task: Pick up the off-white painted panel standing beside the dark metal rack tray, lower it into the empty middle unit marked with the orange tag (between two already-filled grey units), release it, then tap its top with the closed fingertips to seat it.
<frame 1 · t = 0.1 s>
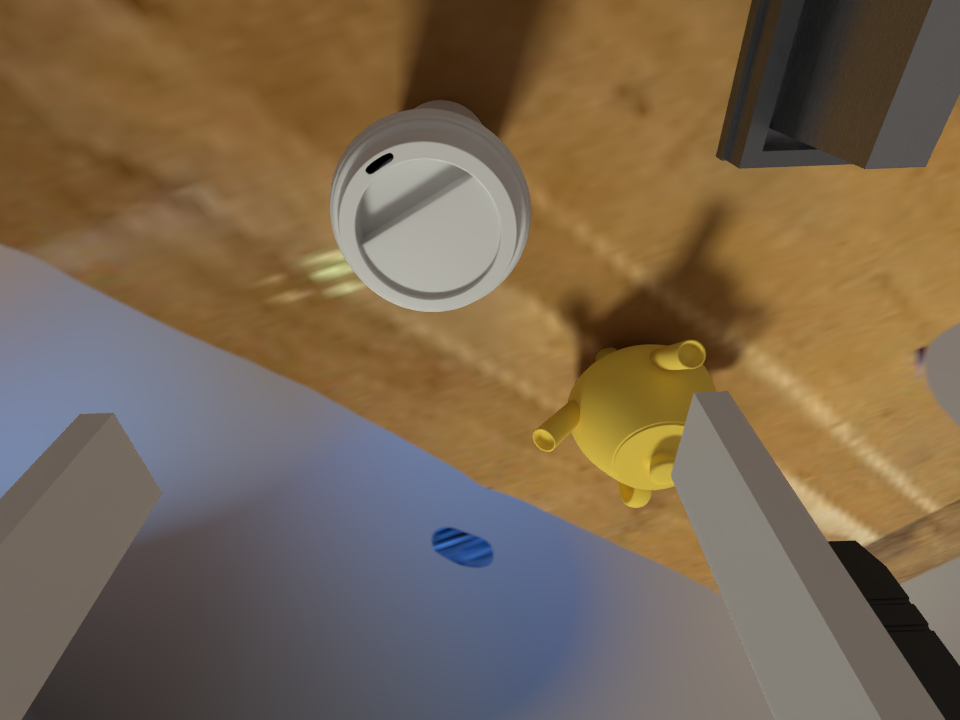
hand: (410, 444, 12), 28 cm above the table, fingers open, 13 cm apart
teapot: (621, 373, 46), on the table
coffee cup: (442, 151, 35), on the table
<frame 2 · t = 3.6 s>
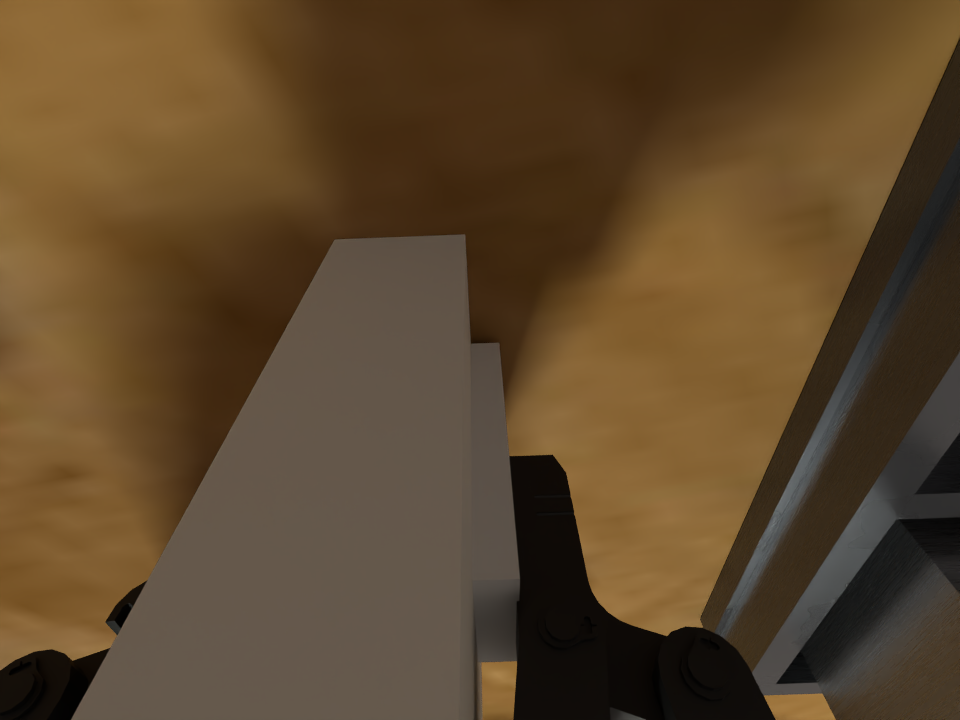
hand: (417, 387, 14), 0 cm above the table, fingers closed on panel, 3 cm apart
panel: (418, 374, 14), on the table, touching gripper
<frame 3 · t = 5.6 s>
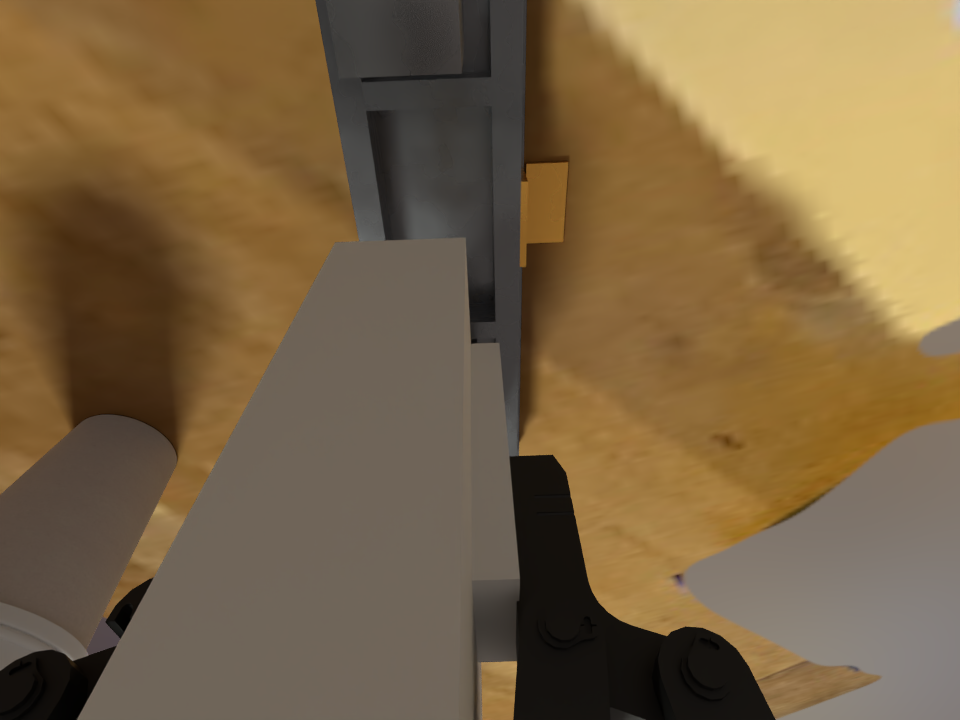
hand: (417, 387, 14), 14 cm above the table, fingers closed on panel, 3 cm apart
panel: (418, 377, 14), point 14 cm above the table, touching gripper
rack: (441, 207, 25), on the table
coffee cup: (128, 447, 35), on the table
when the fingers open (4 cm above the table, at t = 7.6 s): panel drops 2 cm, resting on rack.
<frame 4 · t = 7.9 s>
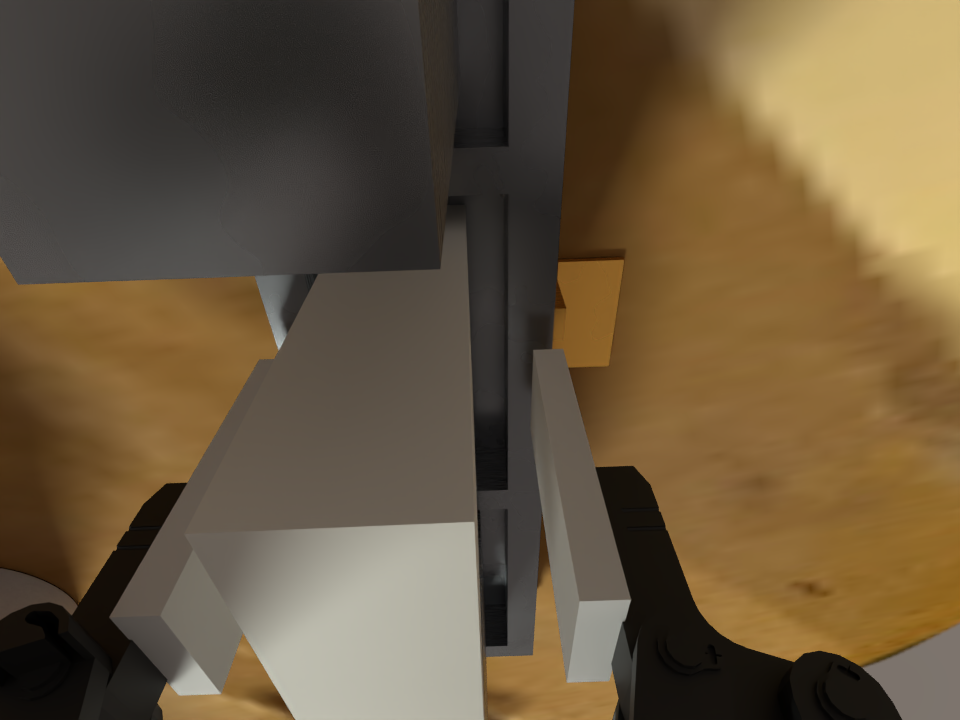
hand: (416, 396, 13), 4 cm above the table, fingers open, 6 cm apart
panel: (422, 333, 16), point 1 cm above the table, touching rack
rack: (426, 320, 17), on the table
coffee cup: (14, 597, 26), on the table
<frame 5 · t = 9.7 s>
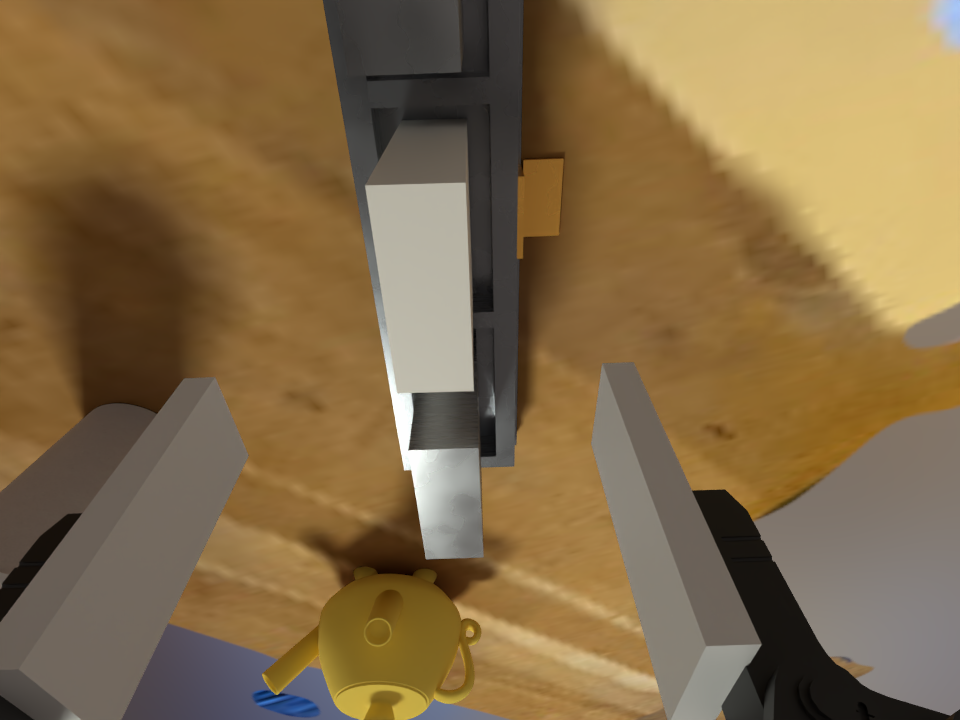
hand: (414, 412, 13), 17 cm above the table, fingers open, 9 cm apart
teapot: (386, 583, 48), on the table
panel: (440, 205, 25), point 1 cm above the table, touching rack
rack: (442, 201, 26), on the table
coffee cup: (137, 435, 36), on the table
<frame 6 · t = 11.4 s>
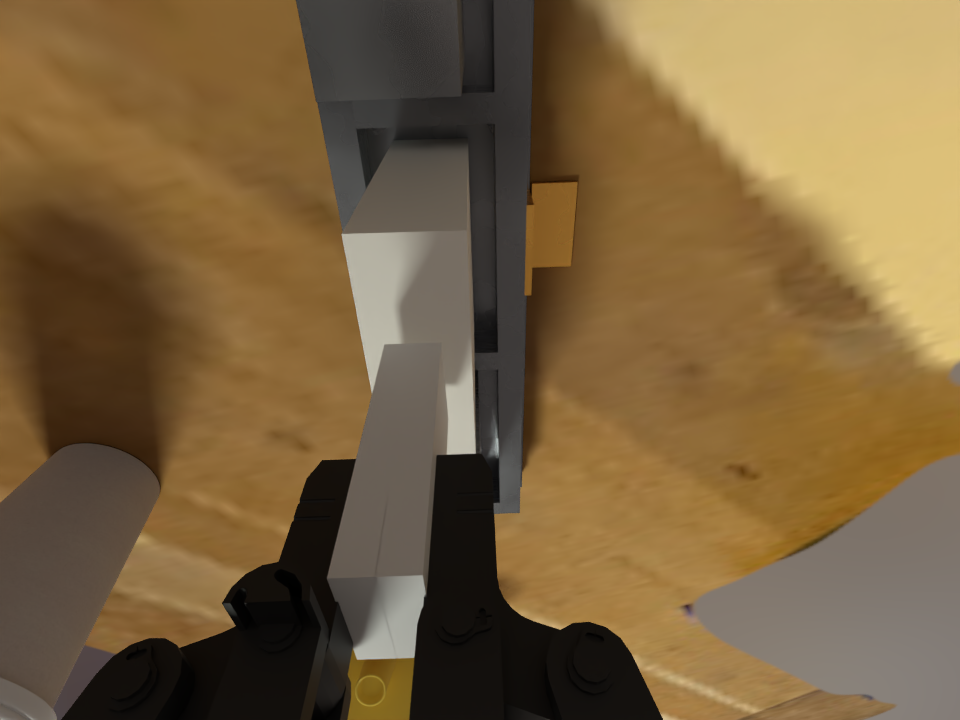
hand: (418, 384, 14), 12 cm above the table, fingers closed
teapot: (381, 623, 45), on the table
panel: (437, 234, 22), point 1 cm above the table, touching rack
rack: (440, 229, 23), on the table
coffee cup: (108, 476, 33), on the table
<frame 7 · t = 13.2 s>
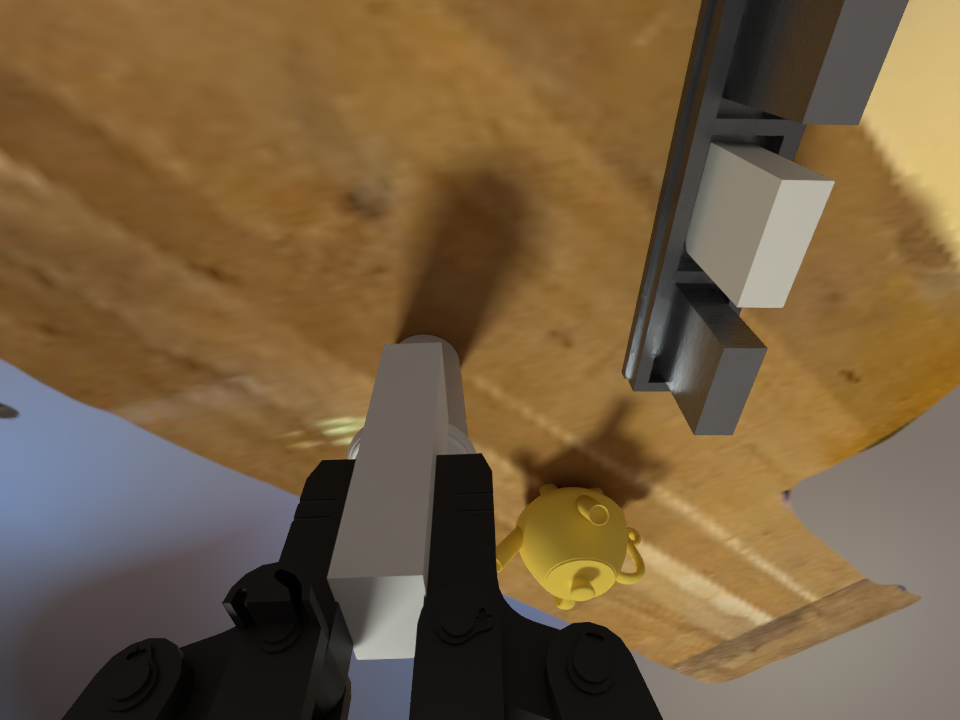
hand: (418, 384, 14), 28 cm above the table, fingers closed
teapot: (559, 500, 60), on the table
panel: (715, 198, 38), point 1 cm above the table, touching rack
rack: (710, 196, 39), on the table
coffee cup: (425, 361, 48), on the table
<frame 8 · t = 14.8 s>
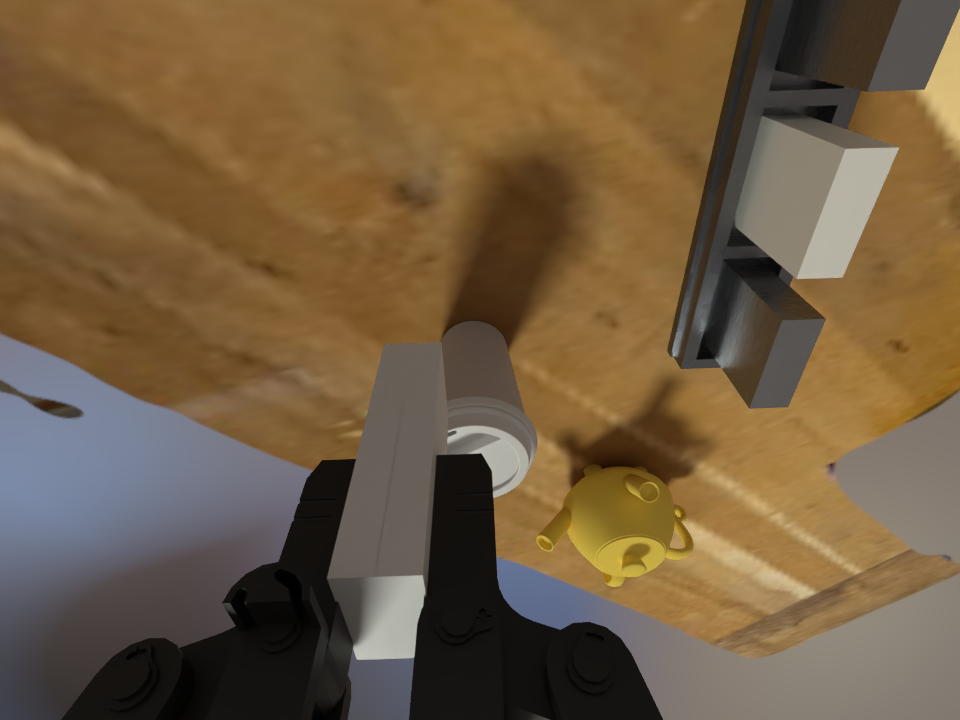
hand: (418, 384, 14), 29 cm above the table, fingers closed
teapot: (604, 480, 61), on the table
panel: (764, 172, 38), point 1 cm above the table, touching rack
rack: (758, 170, 39), on the table
coffee cup: (473, 348, 49), on the table
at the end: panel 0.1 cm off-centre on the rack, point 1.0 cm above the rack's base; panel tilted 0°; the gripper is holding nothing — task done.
